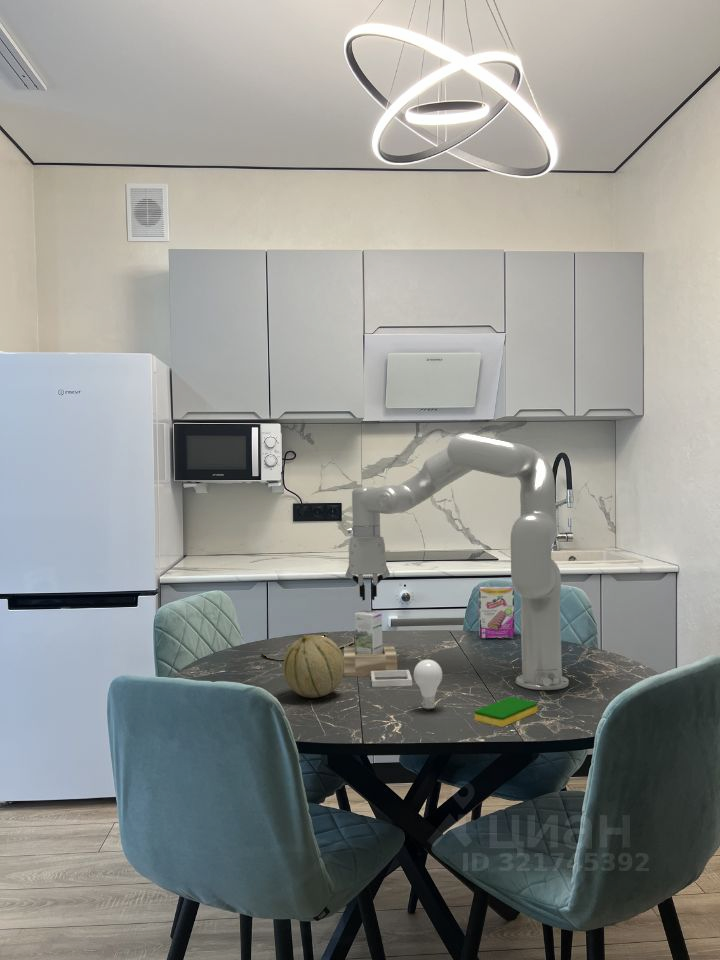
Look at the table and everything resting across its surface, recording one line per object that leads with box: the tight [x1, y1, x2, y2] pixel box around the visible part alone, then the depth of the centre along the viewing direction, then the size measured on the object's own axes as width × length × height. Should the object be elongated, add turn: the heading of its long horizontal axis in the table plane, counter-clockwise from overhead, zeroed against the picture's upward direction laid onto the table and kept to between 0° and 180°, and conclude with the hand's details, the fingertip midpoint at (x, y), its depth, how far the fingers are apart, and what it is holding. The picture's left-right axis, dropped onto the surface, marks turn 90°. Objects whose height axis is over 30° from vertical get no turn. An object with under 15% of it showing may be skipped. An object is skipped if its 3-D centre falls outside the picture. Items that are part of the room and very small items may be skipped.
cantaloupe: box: [282, 634, 345, 699], centre depth 177 cm, size 15×15×15 cm
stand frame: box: [370, 669, 413, 688], centre depth 190 cm, size 10×10×2 cm
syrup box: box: [354, 609, 384, 655], centre depth 203 cm, size 6×6×14 cm
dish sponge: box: [474, 696, 538, 728], centre depth 159 cm, size 7×14×2 cm, turn 135°
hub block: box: [343, 644, 398, 677], centre depth 203 cm, size 14×14×5 cm
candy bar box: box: [478, 586, 515, 639], centre depth 239 cm, size 11×5×16 cm, turn 84°
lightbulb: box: [413, 659, 443, 711], centre depth 165 cm, size 6×6×11 cm
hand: (368, 599), depth 203 cm, fingers closed
